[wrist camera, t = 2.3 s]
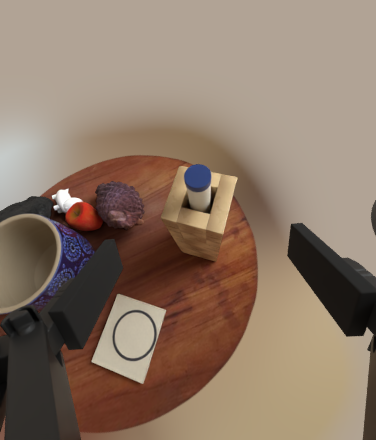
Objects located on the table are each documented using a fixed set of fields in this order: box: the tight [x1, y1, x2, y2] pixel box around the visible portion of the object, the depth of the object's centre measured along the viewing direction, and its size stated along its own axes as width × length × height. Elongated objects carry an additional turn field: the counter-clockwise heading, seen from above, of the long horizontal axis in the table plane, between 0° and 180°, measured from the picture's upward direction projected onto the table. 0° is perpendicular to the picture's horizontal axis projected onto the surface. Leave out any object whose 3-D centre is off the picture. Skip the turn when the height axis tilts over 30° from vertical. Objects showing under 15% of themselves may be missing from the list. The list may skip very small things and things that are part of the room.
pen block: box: [161, 166, 237, 262], centre depth 36 cm, size 8×8×22 cm
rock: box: [0, 196, 53, 222], centre depth 45 cm, size 15×14×7 cm
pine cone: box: [95, 181, 144, 230], centre depth 47 cm, size 18×10×10 cm
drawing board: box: [91, 294, 166, 384], centre depth 40 cm, size 11×13×1 cm
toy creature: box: [52, 189, 83, 213], centre depth 51 cm, size 5×8×6 cm
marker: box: [184, 164, 211, 214], centre depth 27 cm, size 3×3×13 cm
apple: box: [65, 202, 103, 231], centre depth 47 cm, size 6×6×8 cm
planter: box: [0, 214, 95, 314], centre depth 40 cm, size 16×17×15 cm
